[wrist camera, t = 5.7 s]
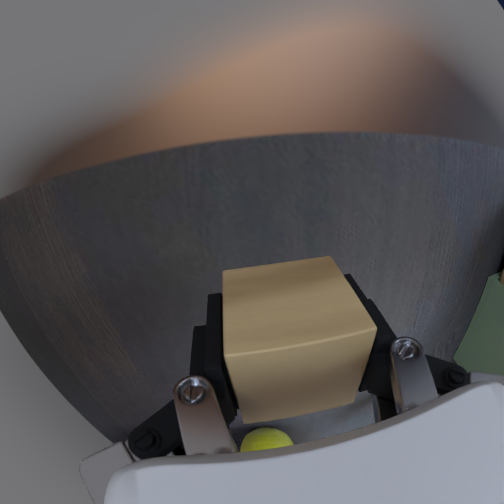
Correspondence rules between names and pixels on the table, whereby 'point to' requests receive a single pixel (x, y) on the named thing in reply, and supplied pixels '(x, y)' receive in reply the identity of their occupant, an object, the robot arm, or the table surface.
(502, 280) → the drawer
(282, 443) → the fruit
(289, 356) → the block
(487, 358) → the cabinet
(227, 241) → the table surface
